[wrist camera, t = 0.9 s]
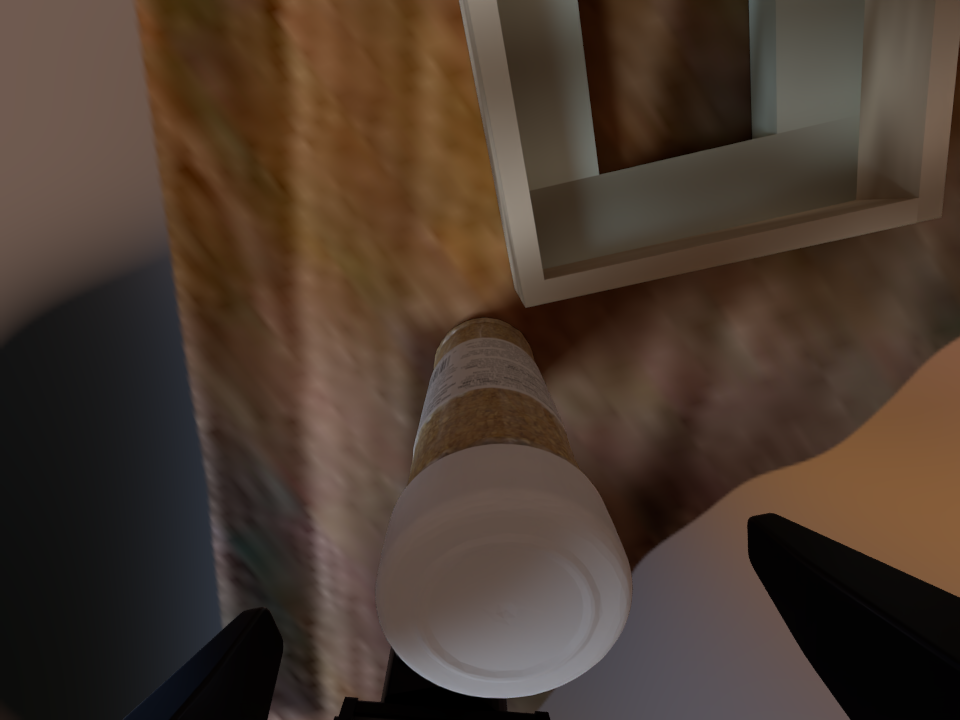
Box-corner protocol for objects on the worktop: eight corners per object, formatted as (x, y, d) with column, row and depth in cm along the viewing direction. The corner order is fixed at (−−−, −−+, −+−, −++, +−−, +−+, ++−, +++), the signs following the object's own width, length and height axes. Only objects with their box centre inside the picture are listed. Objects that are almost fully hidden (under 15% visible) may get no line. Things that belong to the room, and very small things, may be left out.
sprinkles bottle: (492, 426, 21) (524, 746, 9) (414, 372, 20) (317, 639, 8) (554, 353, 20) (698, 593, 7) (474, 292, 19) (480, 447, 7)
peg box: (845, 216, 19) (941, 217, 15) (515, 289, 19) (525, 307, 15) (861, -233, 14) (1003, -396, 10) (436, -119, 15) (423, -233, 11)
